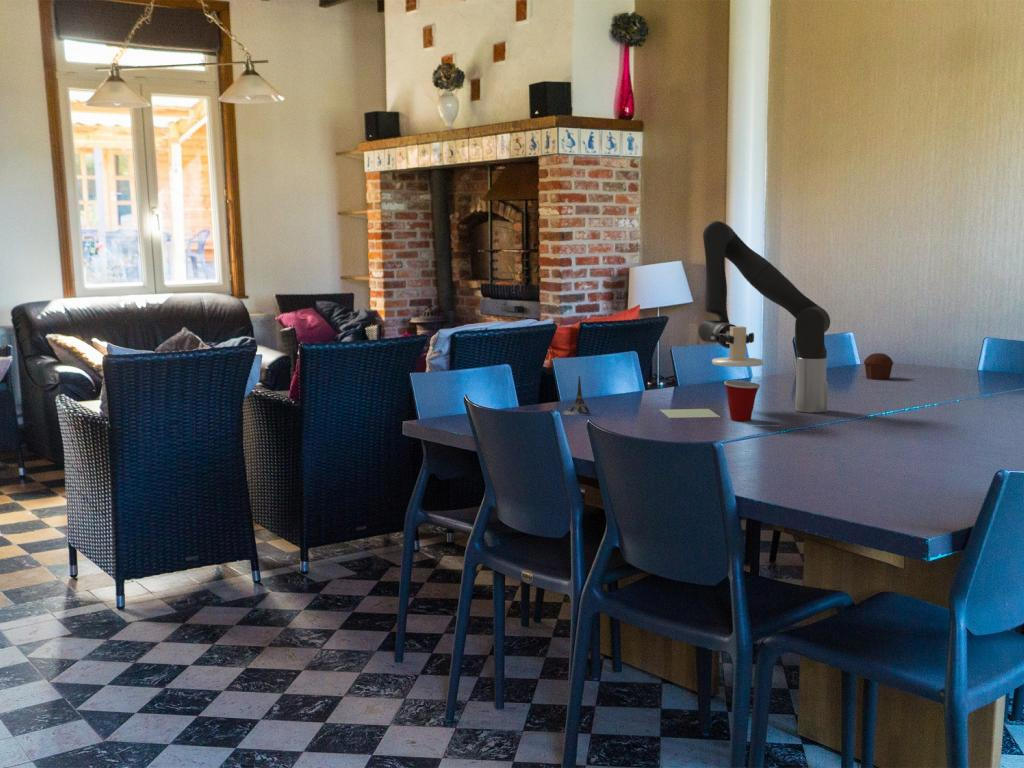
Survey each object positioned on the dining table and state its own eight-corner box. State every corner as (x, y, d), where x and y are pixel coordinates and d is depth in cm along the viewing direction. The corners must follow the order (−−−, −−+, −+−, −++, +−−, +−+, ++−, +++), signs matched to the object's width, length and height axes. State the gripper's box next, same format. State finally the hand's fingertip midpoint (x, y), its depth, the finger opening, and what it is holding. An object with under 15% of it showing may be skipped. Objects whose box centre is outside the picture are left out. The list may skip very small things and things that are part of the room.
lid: (755, 360, 319) (756, 324, 318) (768, 366, 304) (769, 328, 303) (707, 361, 319) (707, 325, 317) (718, 367, 304) (719, 329, 302)
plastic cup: (755, 425, 305) (755, 385, 304) (719, 423, 310) (719, 383, 308) (763, 419, 315) (764, 381, 313) (728, 417, 320) (729, 379, 318)
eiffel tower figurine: (565, 409, 343) (565, 369, 341) (595, 410, 341) (595, 370, 339) (559, 416, 328) (559, 375, 326) (591, 417, 326) (591, 375, 324)
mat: (708, 410, 334) (708, 408, 334) (720, 418, 318) (720, 416, 318) (659, 411, 334) (659, 409, 333) (669, 419, 318) (669, 417, 318)
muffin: (888, 381, 403) (889, 355, 401) (859, 379, 409) (860, 354, 407) (895, 377, 412) (896, 352, 411) (867, 376, 418) (868, 351, 417)
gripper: (704, 323, 324) (717, 327, 307) (749, 323, 324) (764, 327, 307) (704, 347, 325) (716, 352, 308) (748, 346, 325) (763, 352, 308)
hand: (740, 340), depth 308 cm, fingers closed on lid, 4 cm apart
